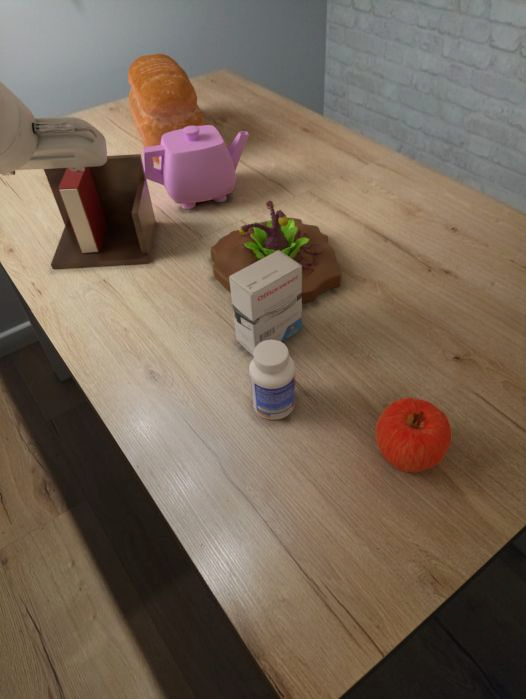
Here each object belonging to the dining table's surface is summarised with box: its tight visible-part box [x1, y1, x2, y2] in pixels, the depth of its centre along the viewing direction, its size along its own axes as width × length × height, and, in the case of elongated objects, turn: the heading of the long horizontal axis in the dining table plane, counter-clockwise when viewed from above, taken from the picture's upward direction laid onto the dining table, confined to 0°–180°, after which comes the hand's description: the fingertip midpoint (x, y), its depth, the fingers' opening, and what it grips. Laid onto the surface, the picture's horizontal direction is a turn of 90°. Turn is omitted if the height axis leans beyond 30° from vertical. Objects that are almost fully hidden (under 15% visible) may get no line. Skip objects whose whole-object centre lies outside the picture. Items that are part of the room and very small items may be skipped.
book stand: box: [43, 153, 157, 270], centre depth 85 cm, size 16×12×13 cm
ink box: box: [229, 250, 303, 357], centre depth 69 cm, size 8×5×12 cm, turn 130°
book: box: [58, 167, 107, 253], centre depth 84 cm, size 3×8×12 cm, turn 3°
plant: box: [210, 200, 342, 305], centre depth 79 cm, size 20×20×11 cm
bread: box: [127, 53, 207, 165], centre depth 110 cm, size 14×26×15 cm, turn 19°
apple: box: [375, 397, 453, 473], centre depth 57 cm, size 8×8×8 cm
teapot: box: [142, 124, 250, 210], centre depth 95 cm, size 20×12×13 cm, turn 109°
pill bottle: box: [248, 340, 296, 421], centre depth 61 cm, size 5×5×10 cm
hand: (44, 167), depth 70 cm, fingers open, 8 cm apart
